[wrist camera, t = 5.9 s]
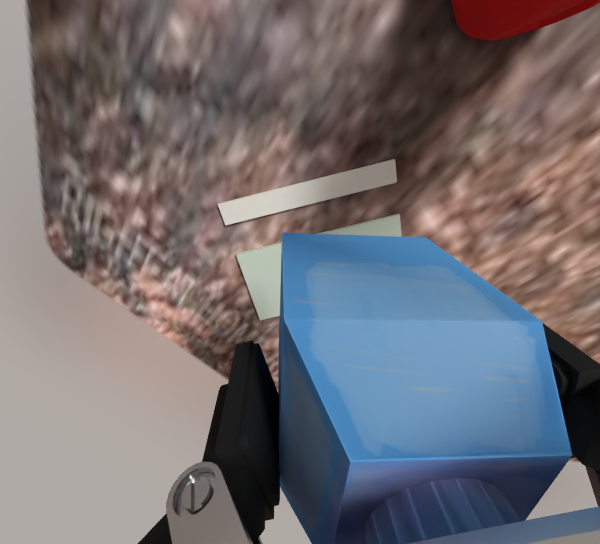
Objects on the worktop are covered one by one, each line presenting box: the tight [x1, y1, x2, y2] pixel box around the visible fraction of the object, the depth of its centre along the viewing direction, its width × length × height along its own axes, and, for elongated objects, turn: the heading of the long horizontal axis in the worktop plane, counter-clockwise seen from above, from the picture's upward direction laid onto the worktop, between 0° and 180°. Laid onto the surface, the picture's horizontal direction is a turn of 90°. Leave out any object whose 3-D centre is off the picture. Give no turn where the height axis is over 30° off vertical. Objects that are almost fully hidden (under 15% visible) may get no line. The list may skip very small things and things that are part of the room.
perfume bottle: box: [278, 233, 572, 544], centre depth 8 cm, size 6×6×12 cm
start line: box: [218, 159, 397, 225], centre depth 26 cm, size 2×16×1 cm, turn 103°
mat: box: [236, 214, 402, 320], centre depth 30 cm, size 8×16×1 cm, turn 103°
